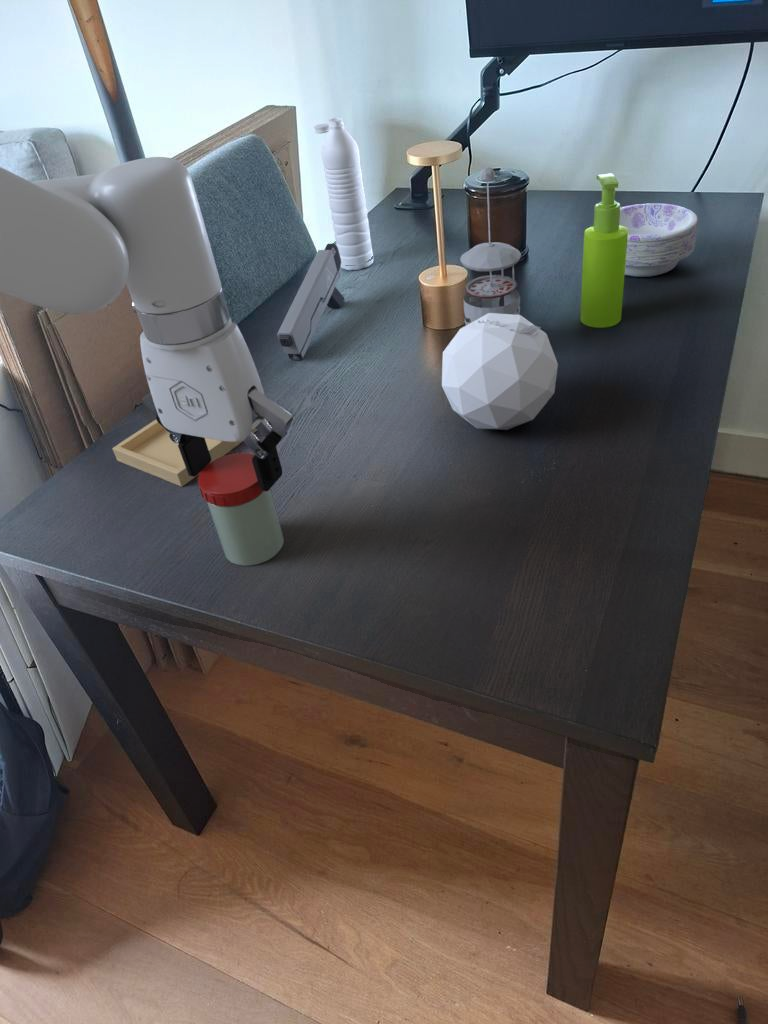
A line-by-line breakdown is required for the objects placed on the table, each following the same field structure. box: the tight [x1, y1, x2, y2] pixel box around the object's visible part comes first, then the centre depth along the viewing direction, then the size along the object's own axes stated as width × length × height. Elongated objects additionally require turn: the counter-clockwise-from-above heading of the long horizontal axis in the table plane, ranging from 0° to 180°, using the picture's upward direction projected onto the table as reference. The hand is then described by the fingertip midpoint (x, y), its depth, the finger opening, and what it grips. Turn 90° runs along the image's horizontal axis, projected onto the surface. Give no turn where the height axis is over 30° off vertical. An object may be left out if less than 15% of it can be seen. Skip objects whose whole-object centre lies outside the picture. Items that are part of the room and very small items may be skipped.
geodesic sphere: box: [441, 313, 559, 431], centre depth 91 cm, size 15×14×14 cm
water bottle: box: [314, 117, 374, 271], centre depth 134 cm, size 9×6×25 cm
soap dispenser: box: [579, 173, 628, 329], centre depth 108 cm, size 6×7×20 cm
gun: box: [276, 243, 345, 361], centre depth 121 cm, size 2×25×10 cm, turn 164°
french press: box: [459, 167, 522, 326], centre depth 103 cm, size 10×12×25 cm
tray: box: [111, 419, 270, 488], centre depth 100 cm, size 17×13×2 cm
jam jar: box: [205, 488, 285, 567], centre depth 79 cm, size 7×7×9 cm
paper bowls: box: [619, 203, 699, 278], centre depth 124 cm, size 15×15×8 cm
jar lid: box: [197, 452, 263, 506], centre depth 77 cm, size 7×7×2 cm
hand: (235, 475), depth 77 cm, fingers open, 8 cm apart
